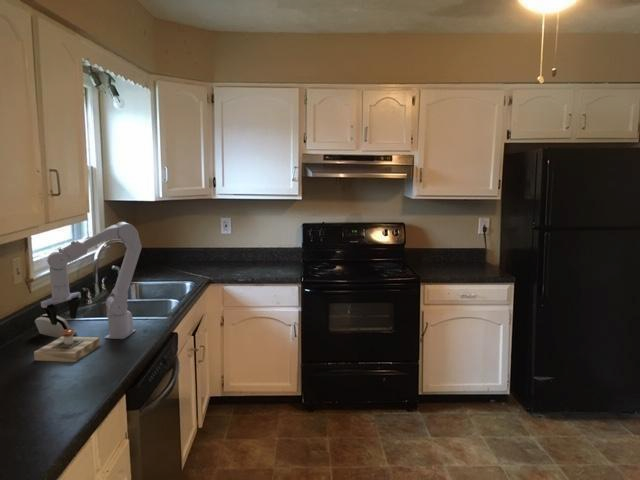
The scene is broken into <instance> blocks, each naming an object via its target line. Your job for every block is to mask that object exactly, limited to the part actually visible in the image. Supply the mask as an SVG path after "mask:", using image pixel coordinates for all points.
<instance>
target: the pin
mask: <svg viewBox="0 0 640 480" xmlns="http://www.w3.org/2000/svg"><path fill="white" fill-rule="evenodd" d="M61 332H62V336H63V339H64V346H67V347H70V346H72V345H73V344H74V342H73V337H74V335H73V334H74V329H73V328H71V329H66V330H63V331H61Z"/></svg>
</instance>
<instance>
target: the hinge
mask: <svg viewBox="0 0 640 480" xmlns="http://www.w3.org/2000/svg"><path fill="white" fill-rule="evenodd" d="M34 324H35V326H36V328H37V330H38V332H39V334H40V335H41V334H42V335H44V336H49V337H52V338H53V337H54V338H57V339H59V338H60V337H63V336H62V332H61V331H63V330H66V329H72V328H71V326H70V325H69V323H68V321H67V319H65V318H63V317H61V316H59V315H57V325H52V324H51V321H50V319H49V317H48V315H47V314H46V313H44V314H42V315H40V316H39V317H36V319H35V320H34ZM73 336H74V337H79V336H78V333H77V331H74V334H73Z"/></svg>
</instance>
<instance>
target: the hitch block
mask: <svg viewBox="0 0 640 480" xmlns="http://www.w3.org/2000/svg"><path fill="white" fill-rule="evenodd" d="M73 342H74V344H73V345H72V346H70V347H67V346H64V339H63V337H60V338H57V339H55V340H53V341H51V342H50V343H47V344H46V345H44V346H43V347H40V348H39V349H37V350H34V352H33V355H34V356H33V357H34V361H40V362H41V361H45V362H46V361H47V362H71V363H74V362H77V361H79V360H81V359H82V358H83V357H86V356H87V355H88V354H89V353H91V352H93V351H95V349H97V348H99V347H101V338H100V337H94V336H93V337H91V336H73Z"/></svg>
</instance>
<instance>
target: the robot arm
mask: <svg viewBox="0 0 640 480" xmlns="http://www.w3.org/2000/svg"><path fill="white" fill-rule="evenodd" d="M139 235H140V234H139V231H138V229H137V228H136V227H135V226H134V225H132V224H130V223H127V222H126V221H119V222H117V223H116V224H112V225H110V226H108V227H106V228H104V229H103V230H100V232H97V233H96V234H94V235H93V236H90V237H89V238H87V239H85V240H84V241H81V240H76V241H75V240H71V241H70V244H69V245H67V246H65V247H63V248H58V249H57V251H54V252H51V253H50V254H49V255H48V257H47V260H46V261H47V264H48V265H49V269H48V270H49V279H50V289H51V290H50V291H51V298H48V299H46V300H42V301H40V307H41V308H42V310H43V311H44V312H45V314H47V315H48V317H49V319H50V321H51V324H52V325H57V316H58V315H57V314H58V313H57V312H58V307H57V306H55V305H57V304H62V303H64V302H66V303H67V306H68V310H69V316H70V319H72V320H76V318H77V315H78V314H77V313H78V310H79V306H80V304H81V302H82V299H81V298H82V294H81V292H80V291H75V292H70V290H71V289H70V285H69V284H70V282H69V273H68V271H67V265H68V264H71V263H72V262H74V261H76V260H79V259H80V258H82V257H83V256H85V255H87V253H88V250H89V249H91V248H94V247H95V246H98V245H99V244H101V243H103V242H106V241H108V240H119V239H120V241H122V243H123V244H124V246H125V248H126V251H125V253H124V257H123V261H122V264H121V266H120V270H119V273H118V275H117V278H116V282H115V285H114V287H113V288H112V290H111V293H110V295H109V296H107V298H106V299H105V305H106V308H108V311H107V313H106V314H107V324H108V325H107V327H108V334H107V335H106V336H104V339H107V340H108V339H112V340H114V339H115V340H117V339H118V340H125V339H126V338H127V337H129V336H131V335H132V334H133V333H134V332H137V330H136V329H134V321H133V314H132V312H131V311H129V310H128V308H129V306H128V300H129V299H128V298H129V289H130V285H131V284H132V283H131V282H132V280H133V277H134V274H135V270H136V267H137V263H138V261H139V258H140V254H141V251H142V247H143V245H142V243H141V238H140V236H139Z"/></svg>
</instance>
